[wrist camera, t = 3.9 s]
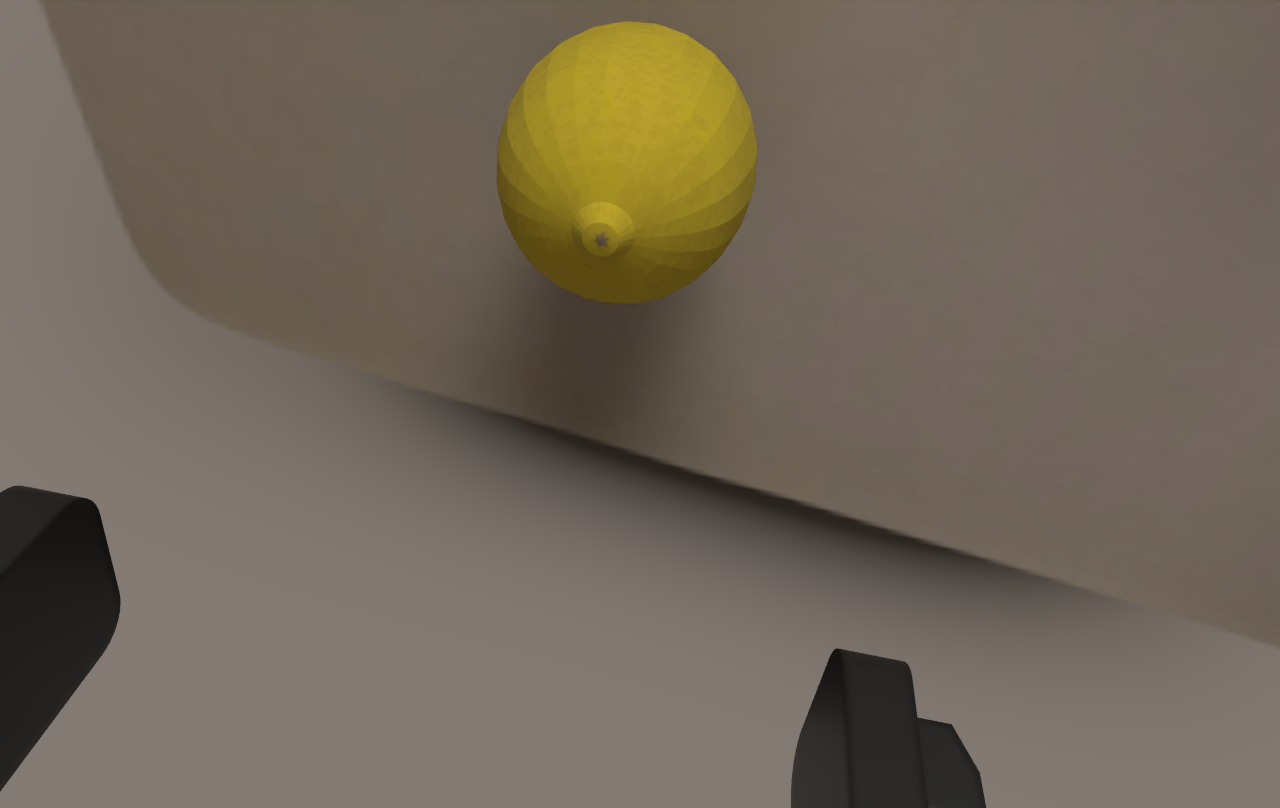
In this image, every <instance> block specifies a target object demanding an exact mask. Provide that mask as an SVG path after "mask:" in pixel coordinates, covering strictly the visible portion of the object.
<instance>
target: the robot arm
mask: <svg viewBox="0 0 1280 808" xmlns="http://www.w3.org/2000/svg"><path fill="white" fill-rule="evenodd" d="M119 613H120V594H119V589H118V585H117V581H116V577H115V573H114V569H113V564H112V561H111V556H110V552H109V548H108V544H107V541H106V537H105V533H104V528H103V524H102V520H101V516H100V513H99V510H98V508H97V506H96V504H94V502H92V501H91V500H89V499H86V498H81V497H76V496H71V495H66V494H61V493H55V492H51V491H45V490H41V489H35V488H30V487H25V486H13V487H10V488H8V489H6V490H4V491H3V492H1V493H0V791H1V790H2V788H3V787H4V786H5V784H6V783H7V782H8V780H9V779H10V778H11V776H12V775H13V774H14V772H15V771H16V770H17V768H18V767H19V766H20V764H21V763H22V762H23V760H24V759H25V757H26V756H27V755H28V754H29V752H30V751H31V750H32V748H33V747H34V745H35V744H36V743H37V742H38V740H39V739H40V738H41V736H42V735H43V733H44V732H45V731H46V729H47V728H48V727H49V725H50V724H51V723H52V721H53V720H54V719H55V717H56V716H57V715H58V713H59V712H60V710H61V709H62V708H63V707H64V705H65V704H66V703H67V701H68V700H69V699H70V697H71V696H72V694H73V693H74V692H75V691H76V689H77V688H78V686H79V685H80V684H81V682H82V681H83V680H84V678H85V677H86V676H87V674H88V673H89V672H90V670H91V669H92V668H93V666H94V665H95V664H96V662H97V661H98V660H99V658H100V657H101V656H102V654H103V653H104V651H105V650H106V648H107V646H108V644H109V643H110V641H111V638H112V636H113V634H114V632H115V628H116V625H117V622H118V618H119ZM791 808H986V805H985V799H984V794H983V788H982V783H981V777H980V772H979V771H978V769H977V767H976V765H975V764H974V762H973V760H972V759H971V757H970V755H969V753H968V752H967V750H966V748H965V747H964V745H963V743H962V741H961V740H960V738H959V736H958V734H957V733H956V731H955V729H954V728H953V726H952V724H947V723H942V722H937V721H932V720H926V719H922V718H917V712H916V704H915V696H914V688H913V680H912V674H911V670H910V668H909V666H908V664H907V663H906V662H903V661H899V660H894V659H888V658H883V657H878V656H873V655H868V654H863V653H858V652H853V651H848V650H843V649H835V650H834V651H833V652H832V654H831V656H830V658H829V661H828V663H827V666H826V668H825V671H824V673H823V676H822V679H821V681H820V684H819V686H818V689H817V691H816V694H815V696H814V699H813V702H812V704H811V707H810V709H809V712H808V715H807V717H806V720H805V722H804V725H803V728H802V730H801V733H800V736H799V740H798V743H797V748H796V753H795V758H794V765H793V773H792V785H791Z"/></svg>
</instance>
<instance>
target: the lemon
mask: <svg viewBox="0 0 1280 808" xmlns="http://www.w3.org/2000/svg"><path fill="white" fill-rule="evenodd" d="M756 161H757V142H756V137H755V132H754V127H753V122H752V117H751V112H750V108H749V106H748V104H747V102H746V100H745V98H744V96H743V94H742V92H741V90H740V88H739V86H738V84H737V82H736V80H735V78H734V76H733V75H732V74H731V73H730V72H729V71H728V69H727V68H726V67H725V66H724V65H723V64H722V62H721V61H720V60H719V59H718V58H717V57H716V55H715V54H714V53H713V52H711V51H710V50H708V49H707V48H705V47H704V46H703V45H701V44H700V43H698V42H697V41H695V40H694V39H693V38H691V37H690V36H688V35H686V34H684V33H681V32H678V31H675V30H673V29H670V28H667V27H665V26H662V25H659V24H654V23H642V22H631V21H624V22H618V23H613V24H607V25H601V26H596V27H593V28H590V29H588V30H586V31H584V32H582V33H580V34H578V35H575V36H573V37H571V38H569V39H567V40H565V41H563V42H562V43H560V44H559V45H558V46H556V47H555V48H554V49H553V50H552V51H551V52H550V53H549V54H547V55H546V56H545V57H544V58H543V59H542V60H541V61H540V62H538V63H537V64H536V65H535V66H534V67H533V68H532V70H531V71H530V72H529V74H528V76H527V77H526V79H525V80H524V82H523V83H522V85H521V86H520V88H519V90H518V91H517V93H516V94H515V96H514V97H513V99H512V101H511V103H510V106H509V109H508V112H507V116H506V119H505V122H504V125H503V128H502V131H501V135H500V138H499V143H498V160H497V188H498V193H499V197H500V202H501V206H502V211H503V215H504V219H505V221H506V223H507V225H508V227H509V229H510V231H511V233H512V235H513V237H514V239H515V241H516V243H517V245H518V247H519V249H520V250H521V251H522V253H523V254H524V255H525V256H526V257H527V259H528V260H529V261H530V262H531V263H532V265H533V266H534V267H535V268H536V269H537V270H538V271H539V272H541V273H542V274H543V275H545V276H546V277H547V278H549V279H550V280H551V281H552V282H554V283H555V284H556V285H558V286H559V287H562V288H564V289H566V290H568V291H570V292H572V293H574V294H576V295H579V296H581V297H583V298H587V299H592V300H596V301H601V302H605V303H609V304H616V303H640V302H645V301H649V300H653V299H658V298H662V297H664V296H666V295H668V294H670V293H672V292H674V291H676V290H678V289H680V288H682V287H684V286H686V285H688V284H690V283H692V282H693V281H694V280H695V279H696V278H697V277H699V276H700V275H701V274H702V273H703V272H704V271H705V270H707V269H708V268H709V267H710V266H711V265H712V264H713V263H714V262H716V261H717V260H718V258H719V257H720V256H721V255H722V253H723V252H724V250H725V249H726V247H727V246H728V244H729V243H730V241H731V240H732V238H733V237H734V235H735V234H736V232H737V231H738V229H739V228H740V226H741V224H742V222H743V219H744V216H745V214H746V211H747V208H748V205H749V202H750V199H751V196H752V193H753V190H754V186H755V178H756Z"/></svg>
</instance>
